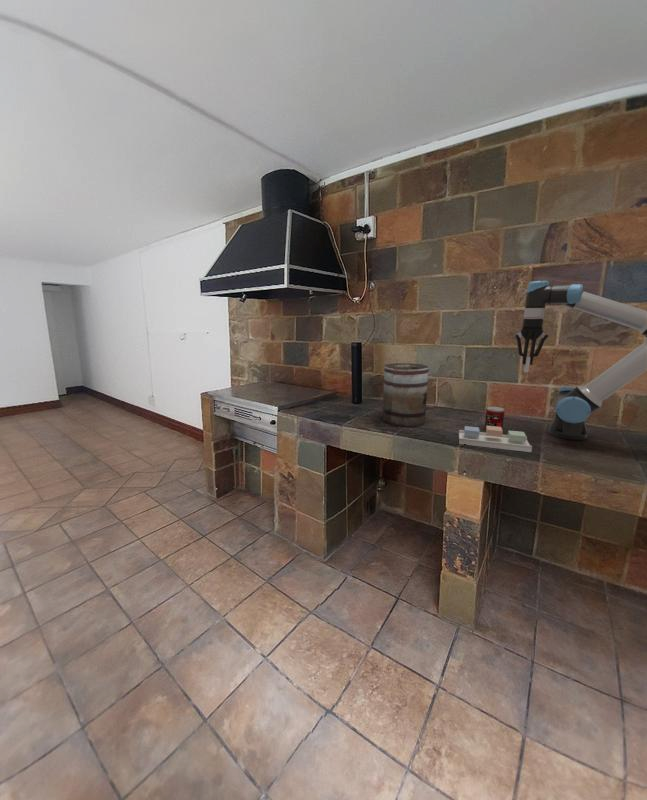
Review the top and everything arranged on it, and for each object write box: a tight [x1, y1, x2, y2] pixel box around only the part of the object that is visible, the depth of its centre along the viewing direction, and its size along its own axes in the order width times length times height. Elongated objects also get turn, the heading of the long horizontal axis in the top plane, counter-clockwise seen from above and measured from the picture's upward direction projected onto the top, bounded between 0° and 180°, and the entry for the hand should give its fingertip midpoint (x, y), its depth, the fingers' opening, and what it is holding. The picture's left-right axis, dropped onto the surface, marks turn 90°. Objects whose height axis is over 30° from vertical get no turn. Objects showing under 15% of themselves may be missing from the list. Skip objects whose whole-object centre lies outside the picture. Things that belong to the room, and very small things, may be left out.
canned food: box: [484, 406, 506, 431], centre depth 166 cm, size 8×8×11 cm
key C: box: [463, 425, 481, 437], centre depth 152 cm, size 6×6×3 cm
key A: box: [507, 430, 527, 442], centre depth 146 cm, size 6×6×3 cm
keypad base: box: [458, 429, 533, 453], centre depth 150 cm, size 28×12×3 cm, turn 69°
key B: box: [485, 426, 504, 437], centre depth 149 cm, size 6×6×3 cm
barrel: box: [382, 362, 430, 429], centre depth 179 cm, size 22×22×30 cm
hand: (526, 371), depth 153 cm, fingers closed
